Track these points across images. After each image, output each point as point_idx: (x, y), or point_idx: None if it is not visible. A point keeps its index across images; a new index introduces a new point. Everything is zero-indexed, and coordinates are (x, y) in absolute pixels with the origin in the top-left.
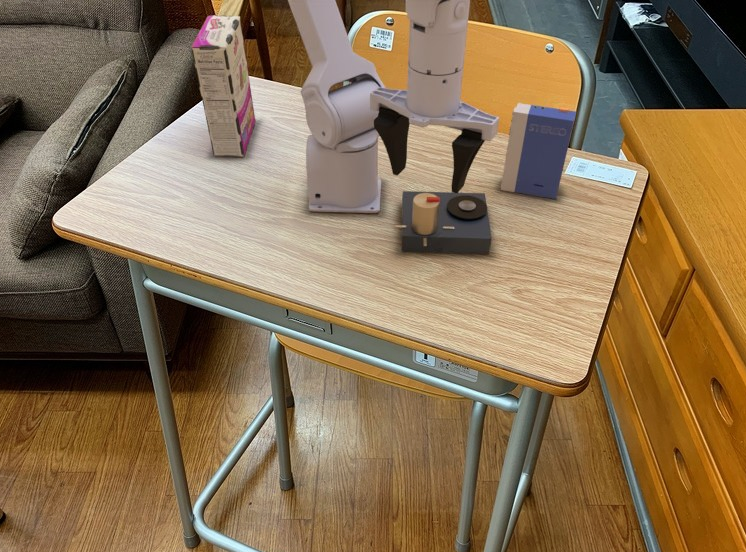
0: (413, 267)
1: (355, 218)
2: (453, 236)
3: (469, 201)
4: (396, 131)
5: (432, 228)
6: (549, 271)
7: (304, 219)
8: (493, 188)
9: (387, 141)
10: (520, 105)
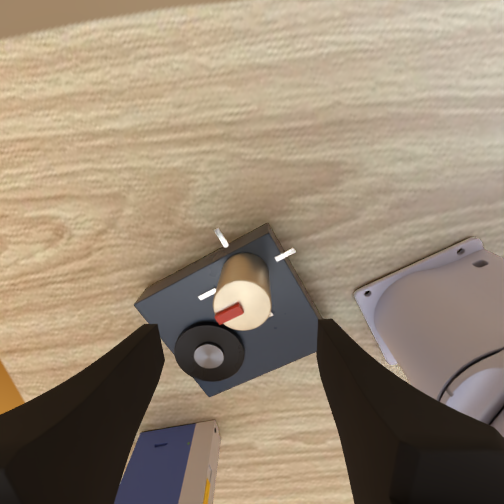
0: (228, 197)
1: (384, 262)
2: (188, 278)
3: (211, 366)
4: (372, 447)
5: (222, 269)
6: (54, 297)
7: (474, 212)
8: (225, 418)
9: (388, 388)
10: None
